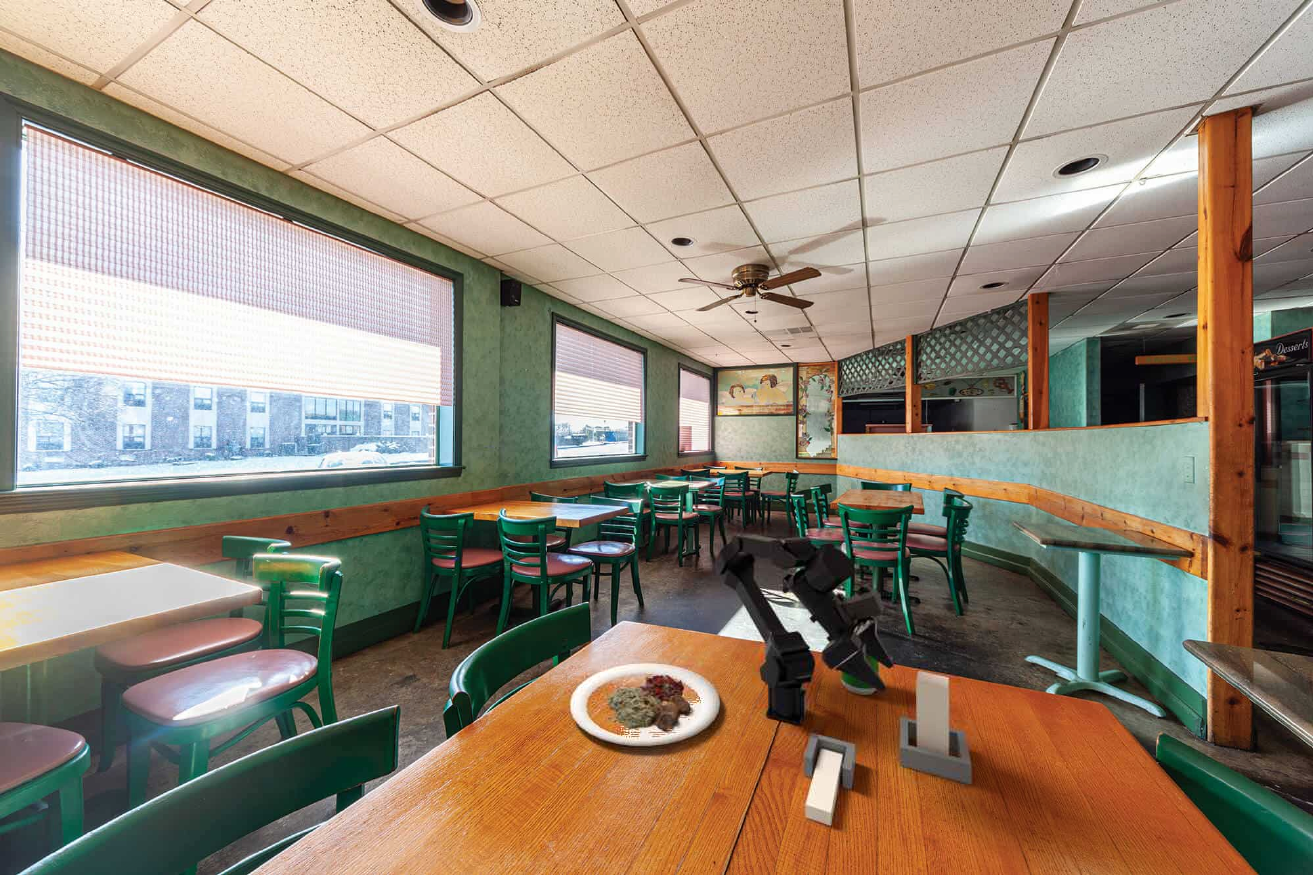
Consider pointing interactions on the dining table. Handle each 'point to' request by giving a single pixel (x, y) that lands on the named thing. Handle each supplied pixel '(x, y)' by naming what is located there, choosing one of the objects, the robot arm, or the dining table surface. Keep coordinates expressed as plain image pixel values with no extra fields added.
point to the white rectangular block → (932, 712)
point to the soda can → (857, 685)
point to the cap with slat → (827, 774)
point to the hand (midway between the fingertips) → (888, 677)
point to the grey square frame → (935, 754)
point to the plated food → (649, 704)
